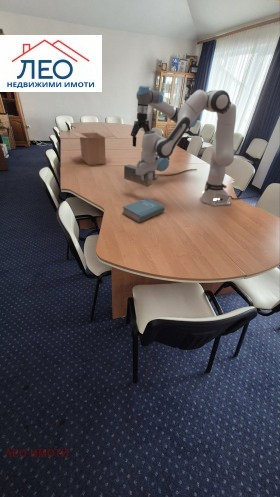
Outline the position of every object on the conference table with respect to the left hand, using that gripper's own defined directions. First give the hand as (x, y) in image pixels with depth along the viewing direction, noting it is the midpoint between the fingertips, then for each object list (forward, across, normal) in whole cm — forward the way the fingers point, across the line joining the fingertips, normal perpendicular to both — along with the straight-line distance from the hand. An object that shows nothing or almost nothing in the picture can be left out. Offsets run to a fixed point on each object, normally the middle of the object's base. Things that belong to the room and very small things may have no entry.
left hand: (140, 145), depth 168 cm
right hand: (+16, -18, -22) cm, 32 cm away
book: (+32, -35, -36) cm, 59 cm away
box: (+32, +18, +78) cm, 86 cm away
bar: (+20, -18, -14) cm, 31 cm away
